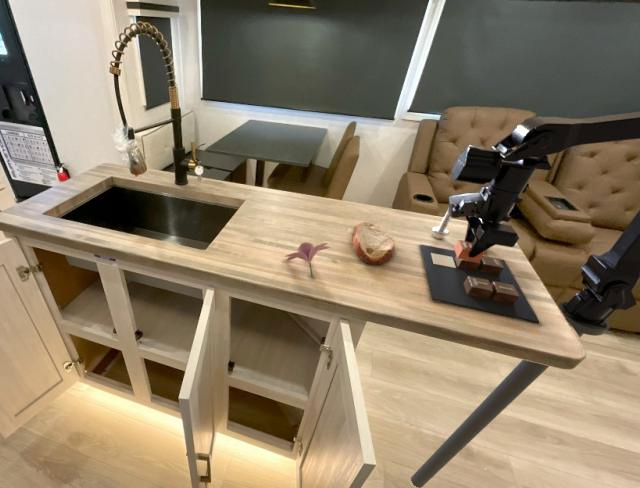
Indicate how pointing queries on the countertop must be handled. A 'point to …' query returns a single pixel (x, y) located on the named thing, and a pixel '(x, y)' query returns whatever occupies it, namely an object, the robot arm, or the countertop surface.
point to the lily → (307, 252)
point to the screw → (442, 227)
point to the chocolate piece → (478, 287)
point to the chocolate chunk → (490, 265)
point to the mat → (451, 290)
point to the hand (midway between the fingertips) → (468, 251)
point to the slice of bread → (372, 243)
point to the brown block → (466, 264)
